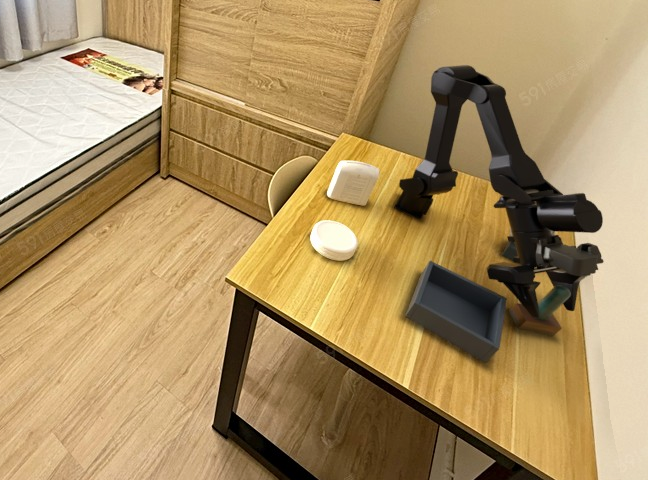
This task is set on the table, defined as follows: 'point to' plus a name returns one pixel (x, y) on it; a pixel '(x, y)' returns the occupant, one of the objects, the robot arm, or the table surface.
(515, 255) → the watch
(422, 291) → the basket
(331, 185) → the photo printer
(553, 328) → the teal handled stamp
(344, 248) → the white thick round disc
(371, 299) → the table surface
